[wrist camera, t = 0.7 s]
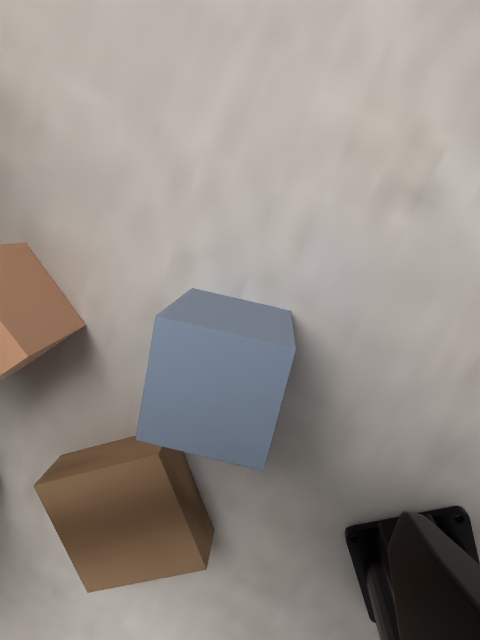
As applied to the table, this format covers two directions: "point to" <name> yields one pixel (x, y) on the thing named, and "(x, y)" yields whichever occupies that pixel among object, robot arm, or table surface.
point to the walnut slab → (127, 513)
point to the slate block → (217, 377)
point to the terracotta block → (30, 309)
